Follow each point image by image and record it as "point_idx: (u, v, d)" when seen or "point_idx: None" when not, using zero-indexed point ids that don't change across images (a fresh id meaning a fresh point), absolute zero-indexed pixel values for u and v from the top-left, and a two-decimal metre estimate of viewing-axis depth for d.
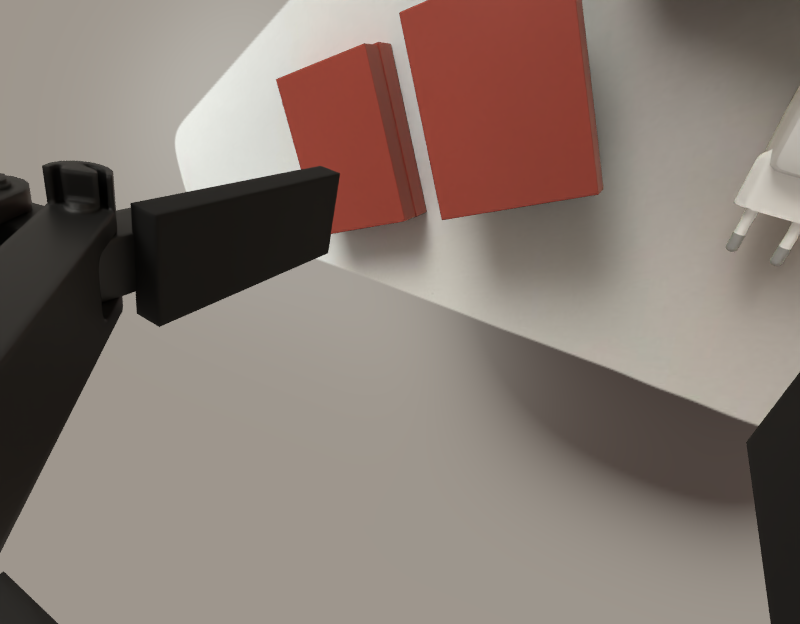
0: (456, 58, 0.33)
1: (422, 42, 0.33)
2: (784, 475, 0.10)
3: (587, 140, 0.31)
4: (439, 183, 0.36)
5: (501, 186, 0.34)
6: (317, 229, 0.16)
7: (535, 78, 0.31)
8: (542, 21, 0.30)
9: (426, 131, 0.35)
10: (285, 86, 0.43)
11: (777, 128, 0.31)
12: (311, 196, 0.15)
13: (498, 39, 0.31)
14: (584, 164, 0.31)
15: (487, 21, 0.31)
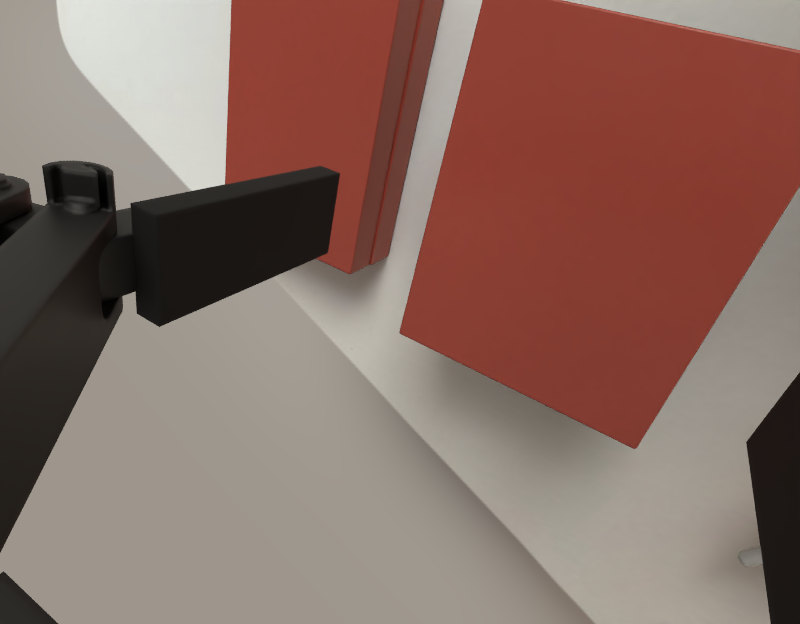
0: (542, 133, 0.17)
1: (500, 68, 0.17)
2: (783, 475, 0.10)
3: (668, 382, 0.18)
4: (419, 288, 0.22)
5: (506, 351, 0.21)
6: (317, 229, 0.16)
7: (649, 250, 0.17)
8: (722, 174, 0.15)
9: (435, 207, 0.20)
10: None
11: None
12: (311, 196, 0.15)
13: (630, 152, 0.16)
14: (641, 405, 0.19)
15: (629, 109, 0.16)
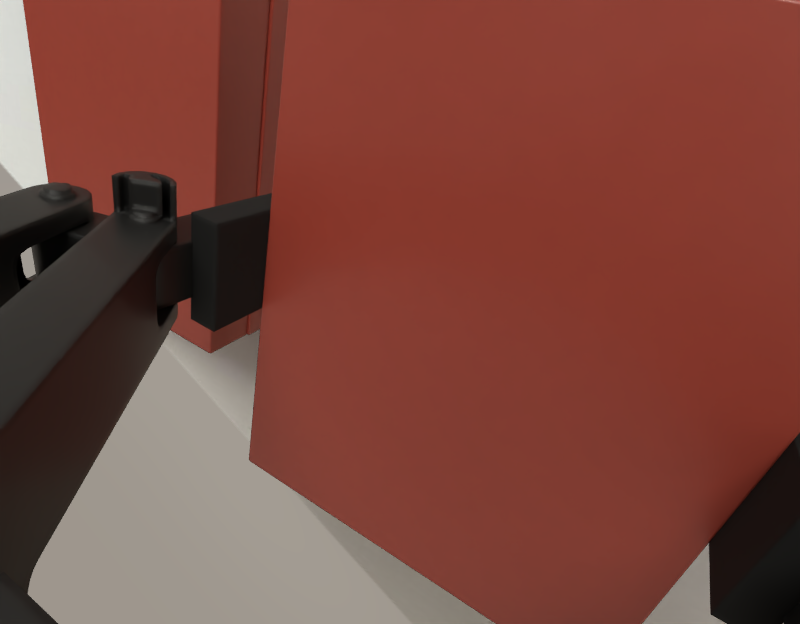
0: (412, 180, 0.10)
1: (334, 63, 0.10)
2: None
3: (641, 604, 0.11)
4: (264, 403, 0.14)
5: (390, 511, 0.13)
6: None
7: (603, 394, 0.09)
8: (738, 274, 0.08)
9: (269, 289, 0.13)
10: None
11: None
12: None
13: (561, 221, 0.09)
14: None
15: (557, 143, 0.08)
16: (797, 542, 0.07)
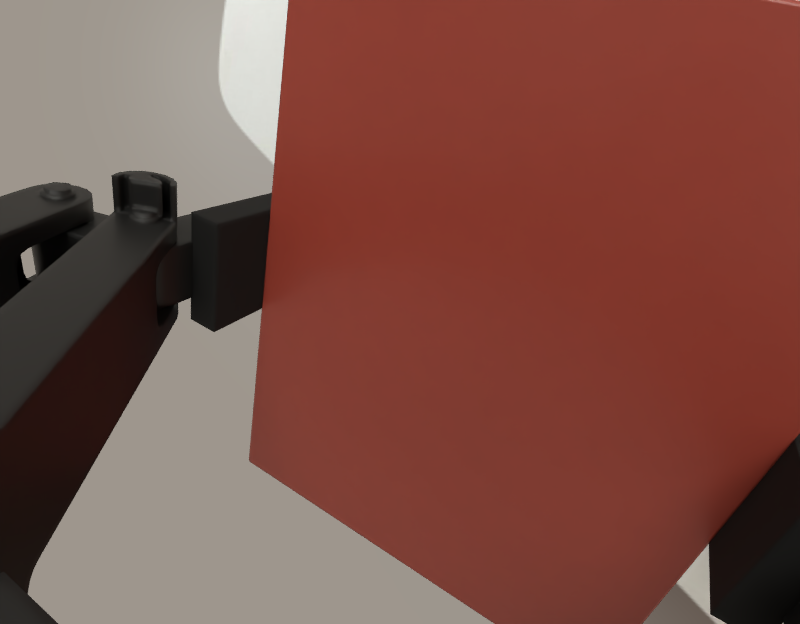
0: (412, 181, 0.10)
1: (334, 65, 0.10)
2: None
3: (640, 605, 0.11)
4: (264, 404, 0.14)
5: (390, 512, 0.13)
6: None
7: (603, 395, 0.09)
8: (737, 276, 0.08)
9: (269, 290, 0.13)
10: None
11: None
12: None
13: (561, 223, 0.09)
14: None
15: (556, 144, 0.08)
16: (797, 542, 0.07)
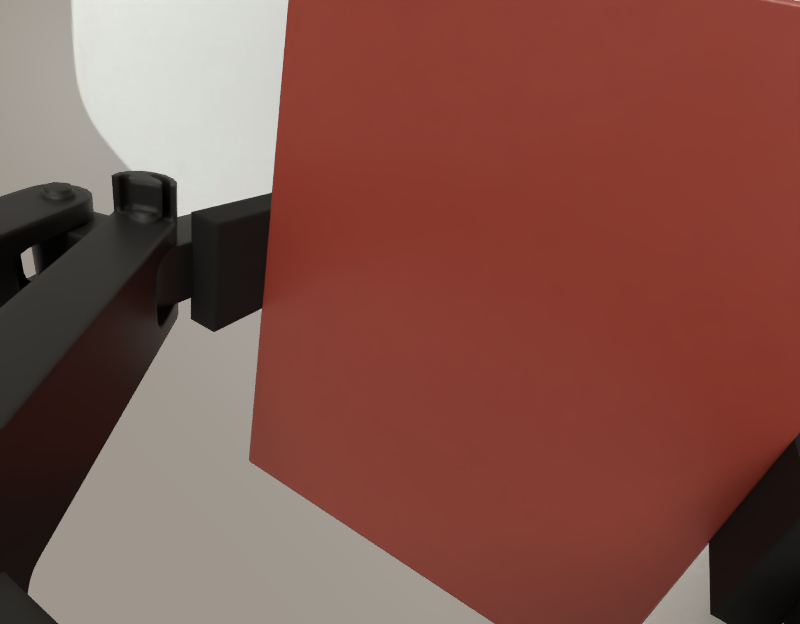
0: (412, 181, 0.10)
1: (334, 65, 0.10)
2: None
3: (640, 605, 0.11)
4: (264, 404, 0.14)
5: (390, 511, 0.13)
6: None
7: (602, 395, 0.09)
8: (736, 276, 0.08)
9: (269, 290, 0.13)
10: None
11: None
12: None
13: (560, 222, 0.09)
14: None
15: (556, 144, 0.08)
16: (797, 542, 0.07)
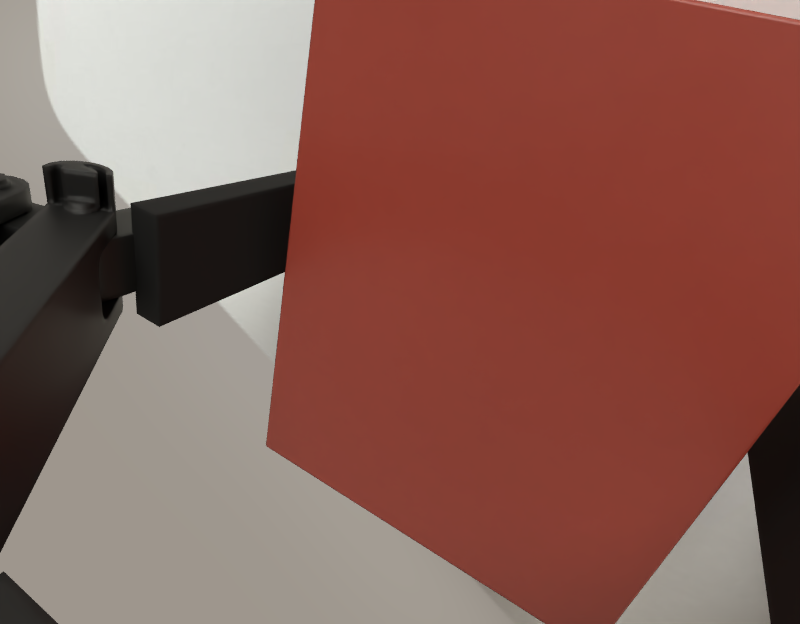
0: (427, 178, 0.11)
1: (356, 70, 0.10)
2: (783, 474, 0.10)
3: (639, 573, 0.11)
4: (282, 390, 0.15)
5: (403, 491, 0.14)
6: None
7: (603, 374, 0.10)
8: (726, 262, 0.08)
9: (290, 281, 0.13)
10: None
11: None
12: None
13: (565, 215, 0.09)
14: (599, 597, 0.12)
15: (562, 143, 0.09)
16: None
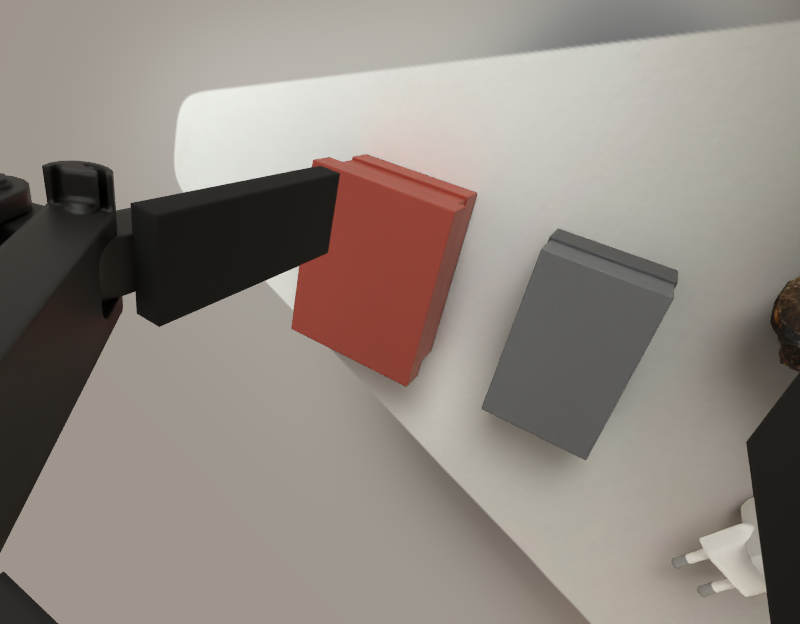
0: (344, 227, 0.36)
1: None
2: (783, 475, 0.10)
3: (413, 349, 0.37)
4: (298, 303, 0.40)
5: (343, 336, 0.39)
6: (317, 229, 0.16)
7: (395, 284, 0.35)
8: (415, 251, 0.34)
9: None
10: None
11: None
12: (311, 196, 0.15)
13: (379, 239, 0.35)
14: (405, 362, 0.37)
15: (376, 220, 0.34)
16: None
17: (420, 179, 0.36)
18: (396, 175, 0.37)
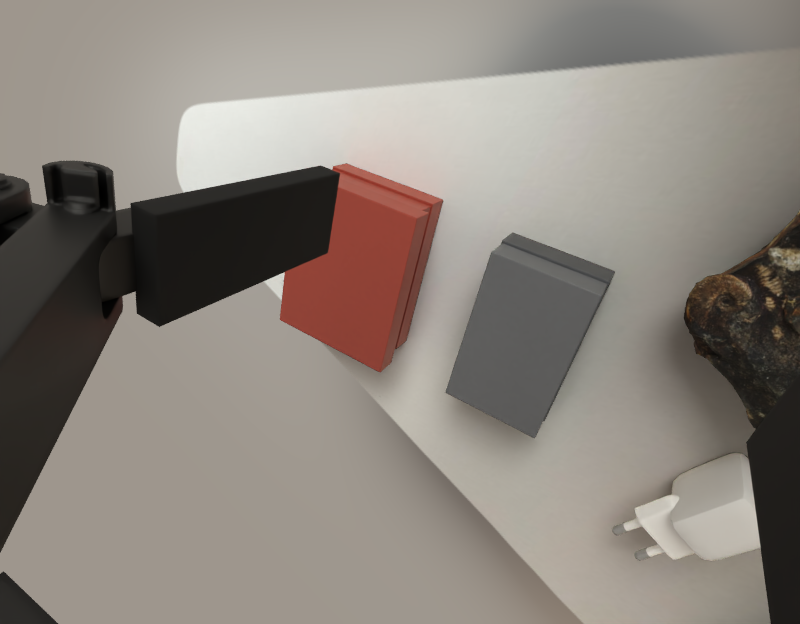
0: None
1: None
2: (783, 475, 0.10)
3: (385, 339, 0.41)
4: (285, 297, 0.45)
5: (324, 327, 0.44)
6: (317, 229, 0.16)
7: (368, 281, 0.40)
8: (384, 252, 0.38)
9: None
10: None
11: (692, 475, 0.38)
12: (311, 196, 0.15)
13: (354, 241, 0.39)
14: (378, 350, 0.42)
15: (351, 224, 0.39)
16: None
17: (392, 187, 0.41)
18: (371, 183, 0.41)
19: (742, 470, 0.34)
